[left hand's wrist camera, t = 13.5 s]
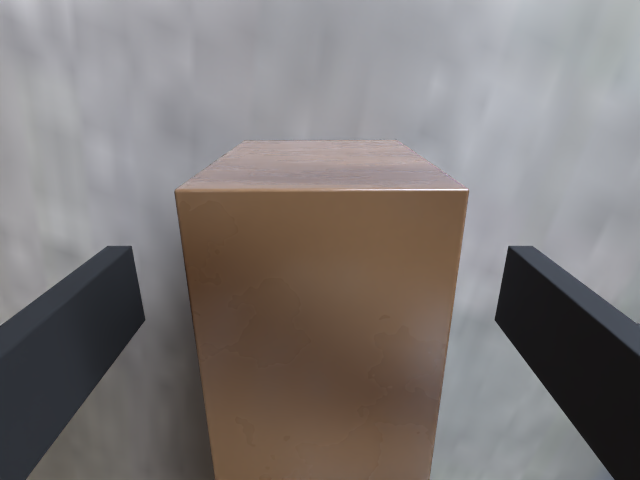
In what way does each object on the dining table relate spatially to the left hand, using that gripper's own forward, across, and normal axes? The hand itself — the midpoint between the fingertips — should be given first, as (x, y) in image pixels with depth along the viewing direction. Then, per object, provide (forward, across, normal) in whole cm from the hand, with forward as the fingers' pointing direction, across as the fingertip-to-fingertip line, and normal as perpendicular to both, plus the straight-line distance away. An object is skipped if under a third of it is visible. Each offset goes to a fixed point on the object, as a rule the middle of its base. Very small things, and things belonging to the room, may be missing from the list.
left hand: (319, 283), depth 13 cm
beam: (+3, 0, -21) cm, 21 cm away
